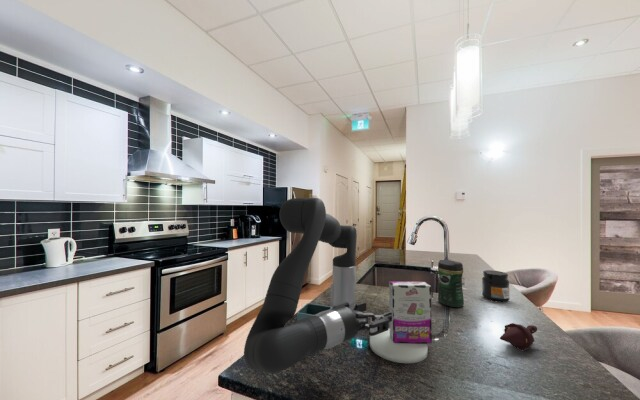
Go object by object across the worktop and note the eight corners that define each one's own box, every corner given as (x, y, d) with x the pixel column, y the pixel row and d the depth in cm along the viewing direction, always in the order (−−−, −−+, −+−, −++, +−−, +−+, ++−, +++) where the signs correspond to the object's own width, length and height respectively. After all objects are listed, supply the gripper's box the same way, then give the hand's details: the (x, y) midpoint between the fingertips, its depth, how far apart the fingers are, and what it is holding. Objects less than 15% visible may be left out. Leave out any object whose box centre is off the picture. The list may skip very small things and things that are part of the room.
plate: (364, 355, 71) (364, 348, 71) (374, 330, 86) (374, 325, 86) (428, 369, 65) (428, 361, 65) (427, 340, 80) (427, 334, 80)
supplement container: (512, 304, 113) (511, 276, 113) (483, 300, 117) (483, 273, 118) (507, 297, 122) (506, 271, 123) (480, 294, 127) (480, 269, 127)
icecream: (518, 336, 70) (551, 332, 75) (492, 318, 77) (524, 316, 82) (510, 359, 71) (543, 353, 77) (485, 339, 78) (517, 336, 83)
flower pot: (332, 335, 82) (332, 306, 83) (323, 349, 74) (324, 316, 75) (306, 330, 85) (307, 302, 86) (295, 343, 77) (296, 312, 77)
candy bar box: (425, 336, 79) (425, 281, 80) (432, 344, 74) (432, 285, 75) (388, 335, 79) (388, 280, 80) (392, 343, 74) (392, 285, 75)
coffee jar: (467, 306, 109) (467, 261, 110) (454, 309, 106) (454, 263, 107) (447, 299, 118) (446, 257, 119) (434, 301, 115) (434, 259, 115)
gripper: (355, 320, 55) (400, 304, 65) (313, 301, 66) (357, 290, 76) (354, 357, 54) (400, 335, 64) (313, 332, 65) (357, 316, 76)
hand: (377, 310), depth 70 cm, fingers open, 8 cm apart
